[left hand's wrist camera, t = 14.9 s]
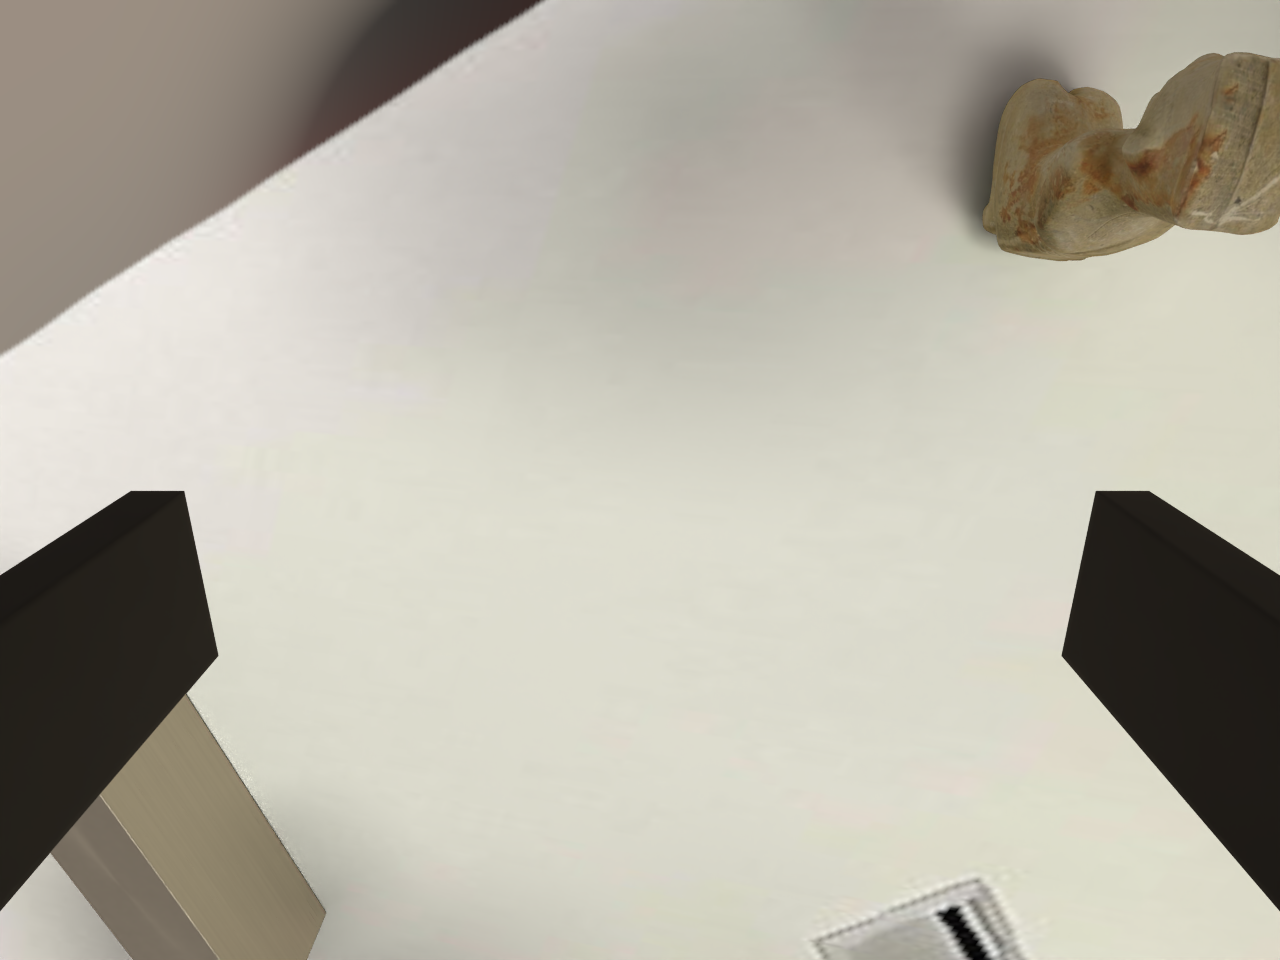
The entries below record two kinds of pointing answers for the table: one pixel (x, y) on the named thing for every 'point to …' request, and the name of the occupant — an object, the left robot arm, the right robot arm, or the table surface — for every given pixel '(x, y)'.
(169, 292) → the table surface
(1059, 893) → the table surface
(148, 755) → the bar
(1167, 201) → the sculpture
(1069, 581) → the table surface
